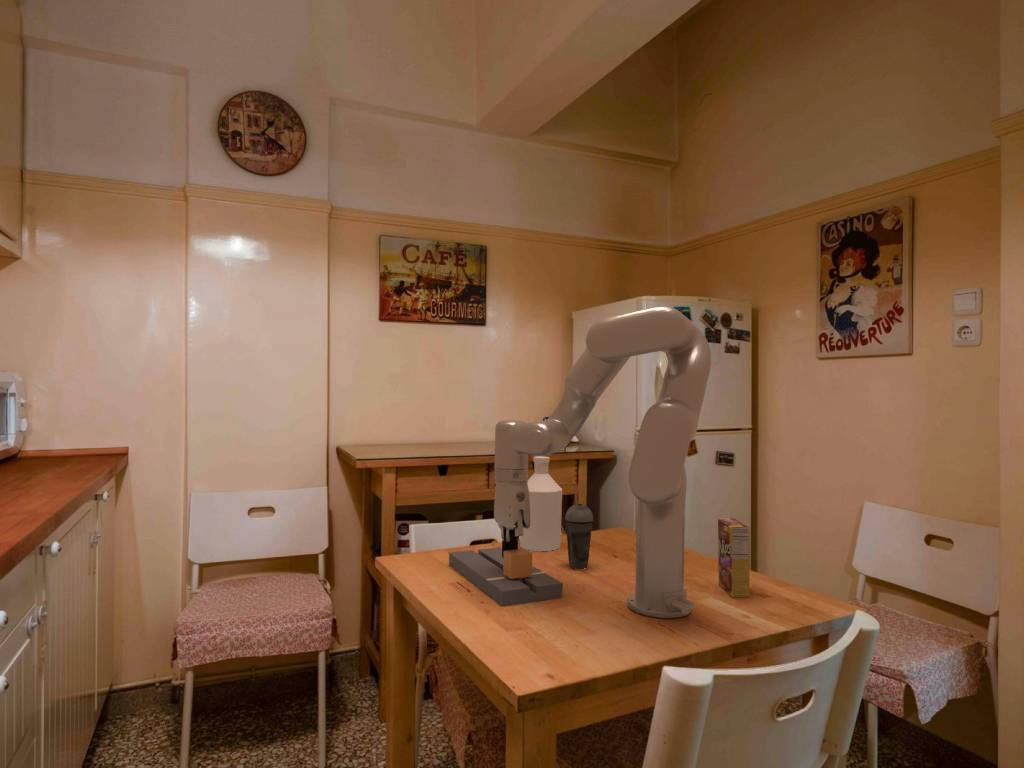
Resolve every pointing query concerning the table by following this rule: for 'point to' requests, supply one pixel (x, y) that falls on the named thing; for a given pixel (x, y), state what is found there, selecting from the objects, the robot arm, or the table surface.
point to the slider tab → (517, 564)
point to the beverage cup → (578, 534)
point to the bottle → (543, 510)
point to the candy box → (733, 557)
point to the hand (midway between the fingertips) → (509, 558)
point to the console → (503, 578)
